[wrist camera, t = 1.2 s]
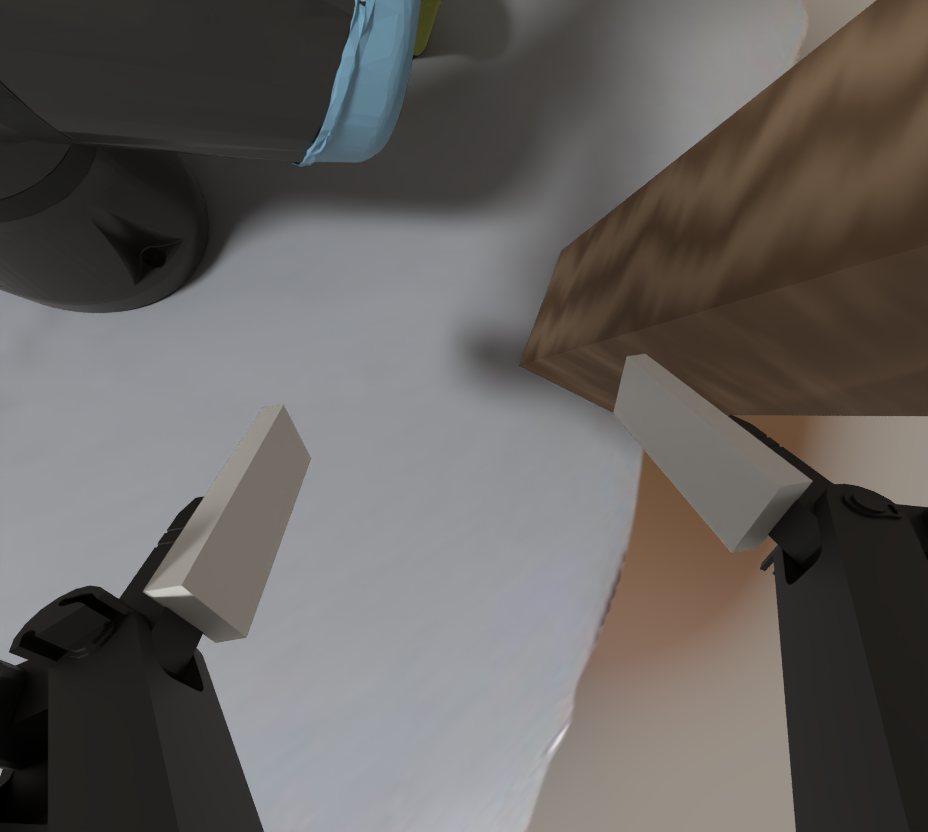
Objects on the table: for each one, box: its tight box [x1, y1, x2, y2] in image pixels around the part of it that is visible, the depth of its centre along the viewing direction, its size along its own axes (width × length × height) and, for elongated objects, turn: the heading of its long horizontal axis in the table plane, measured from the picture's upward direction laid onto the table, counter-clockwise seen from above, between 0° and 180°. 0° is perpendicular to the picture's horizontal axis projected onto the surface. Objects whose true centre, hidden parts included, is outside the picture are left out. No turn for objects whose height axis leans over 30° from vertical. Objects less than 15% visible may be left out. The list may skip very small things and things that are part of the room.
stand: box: [519, 0, 928, 416], centre depth 24 cm, size 15×15×29 cm
